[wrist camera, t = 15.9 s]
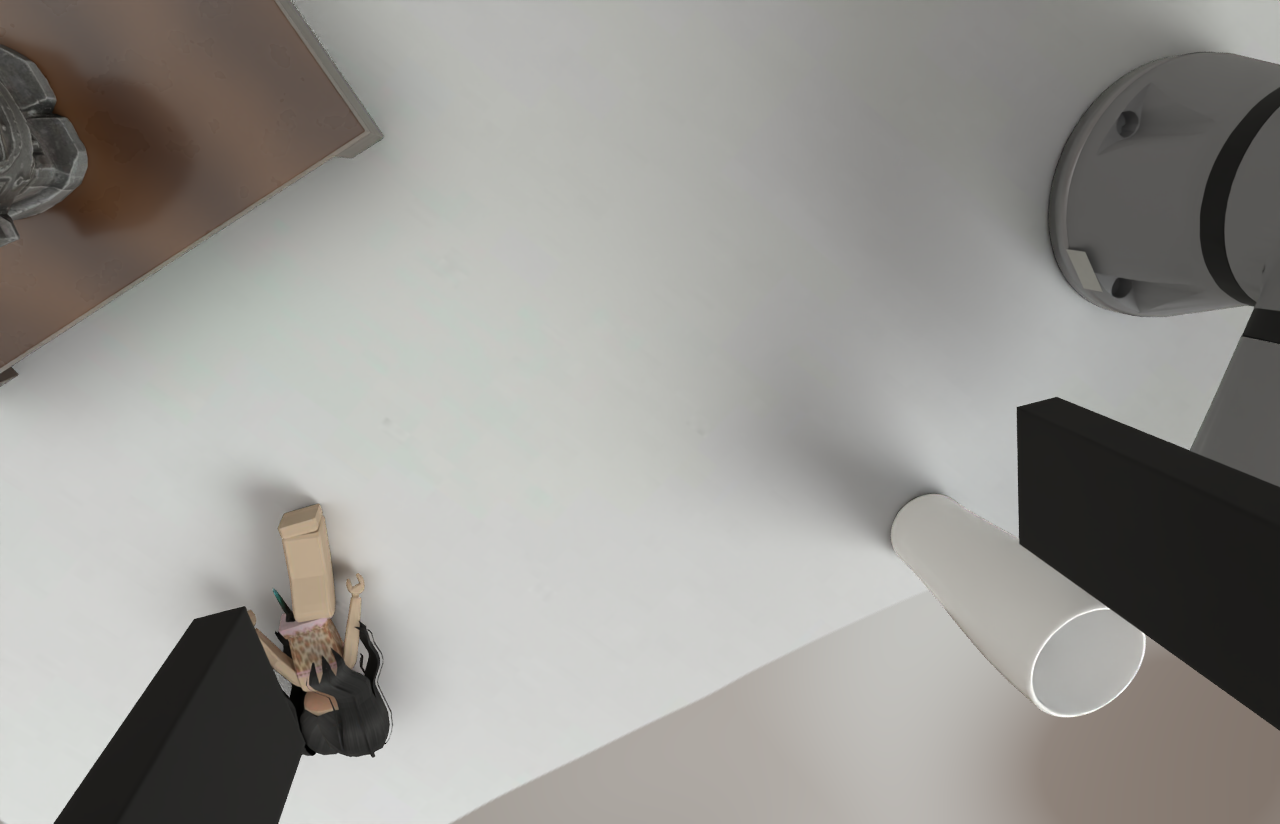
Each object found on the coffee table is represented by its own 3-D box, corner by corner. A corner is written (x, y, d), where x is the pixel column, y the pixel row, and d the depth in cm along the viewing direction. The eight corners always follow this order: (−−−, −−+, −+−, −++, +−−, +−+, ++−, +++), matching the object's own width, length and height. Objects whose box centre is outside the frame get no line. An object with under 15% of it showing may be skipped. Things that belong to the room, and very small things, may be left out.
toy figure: (209, 528, 42) (297, 741, 46) (177, 576, 36) (281, 816, 40) (340, 491, 43) (413, 701, 48) (329, 532, 37) (413, 766, 42)
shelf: (181, -160, 32) (114, -230, 26) (385, 137, 37) (365, 131, 31) (-279, 142, 32) (-442, 135, 26) (-14, 395, 37) (-104, 436, 32)
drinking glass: (858, 527, 49) (1002, 668, 35) (936, 461, 49) (1114, 577, 35) (909, 587, 52) (1064, 742, 38) (984, 525, 51) (1169, 658, 37)
